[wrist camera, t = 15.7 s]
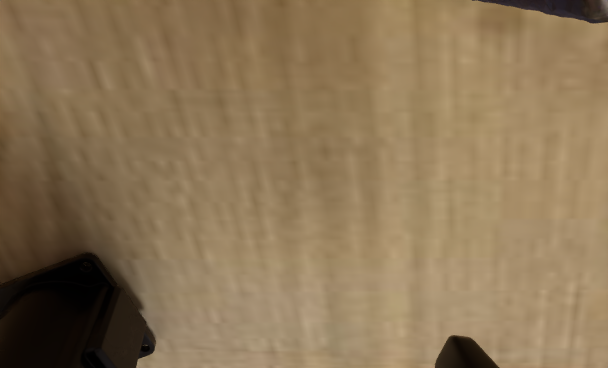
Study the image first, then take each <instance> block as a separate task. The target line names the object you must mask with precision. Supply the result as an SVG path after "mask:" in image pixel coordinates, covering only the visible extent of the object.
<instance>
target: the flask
mask: <svg viewBox="0 0 608 368" xmlns="http://www.w3.org/2000/svg"><path fill="white" fill-rule="evenodd" d="M473 1H474V0H473ZM478 1H482V2H489V3H496V4H501V5H505V6H513V7H517V8H521V9H526V10H536V11H540V12H543V13H545V14H550V15H556V16H559V17H567V18H575V19H579V20H584V21H587V22H589V23H604V22H608V0H478Z"/></svg>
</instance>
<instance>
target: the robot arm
mask: <svg viewBox="0 0 608 368" xmlns="http://www.w3.org/2000/svg"><path fill="white" fill-rule="evenodd" d="M84 262H87V263H90V264H91V265H92V266H86V265H84V264H83V263H84ZM144 344H145V345H148V346H143V345H144ZM155 345H156V341H155V339H154V337H153V336H152V334H151V333H150V331H149V330H148V329H147V327H146V321H145V320H144V318H143V317H142V315H141V314H140V313H139V311H138V310H137V308H136V307H135V305H134V304H133V302H132V301H131V300H130V298H129V297H128V295H127V294H126V292H125V291H124V289H123V288H121V287H119V286H118V285H117V284H116V283H115V281H114V280H113V278H112V277H111V275H110V274H109V272H108V271H107V270H106V268H105V267H104V265H103V264H102V262H101V261H100V260H99V258H98V257H97V256H96V255H94V254H92V253H84V254H81V255H78V256H75V257H73V258H70V259H67V260H65V261H62V262H60V263H57V264H54V265H52V266H49V267H46V268H44V269H41V270H39V271H36V272H33V273H31V274H28V275H25V276H23V277H20V278H17V279H15V280H12V281H10V282H7V283H4V284H2V285H0V368H136V365H137V361H138V359H139V358H142V357H145V356H147V355H150V354H152V353H153V352H154V350H155ZM435 368H499V367H498V366H497V365H496V364H495V362H494V361H493V360H492V359H491V358H490V357H489V356H488V355H487V354H486V353H485V352H484V351H483V350H482V348H481V347H480V346H479V345H478V344H477V343H476V342H475V341H474V340H473V339H471V338H470V337H465V336H456V335H452V336H450V337H449V338H448V339H447V341H446V343H445V345H444V347H443V349H442V350H441V352H440V354H439V356H438V358H437V360H436V363H435Z"/></svg>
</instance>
